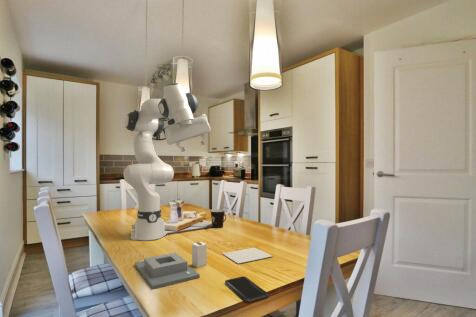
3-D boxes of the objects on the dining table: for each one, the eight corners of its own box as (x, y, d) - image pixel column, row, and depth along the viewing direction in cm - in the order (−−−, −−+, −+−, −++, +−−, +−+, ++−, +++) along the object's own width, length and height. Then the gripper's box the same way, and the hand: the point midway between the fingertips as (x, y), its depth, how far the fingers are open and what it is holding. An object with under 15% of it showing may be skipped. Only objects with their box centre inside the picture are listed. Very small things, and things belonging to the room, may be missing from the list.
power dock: (134, 265, 106) (134, 254, 106) (174, 257, 115) (174, 247, 115) (152, 289, 86) (152, 276, 86) (199, 277, 95) (199, 265, 95)
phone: (246, 300, 77) (223, 280, 90) (246, 304, 77) (223, 283, 90) (269, 294, 81) (244, 275, 94) (269, 298, 81) (244, 279, 94)
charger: (192, 264, 107) (192, 242, 107) (201, 262, 109) (201, 241, 109) (197, 267, 104) (197, 245, 104) (206, 265, 106) (206, 243, 106)
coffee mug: (209, 226, 172) (209, 209, 172) (222, 225, 175) (222, 209, 175) (213, 230, 161) (213, 213, 161) (227, 229, 164) (227, 212, 164)
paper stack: (287, 265, 107) (287, 263, 107) (230, 278, 94) (230, 276, 94) (254, 248, 127) (254, 247, 127) (204, 258, 115) (204, 256, 115)
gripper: (204, 113, 128) (213, 142, 129) (160, 126, 122) (171, 155, 123) (206, 110, 122) (216, 140, 123) (161, 123, 116) (172, 154, 117)
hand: (193, 148), depth 123 cm, fingers open, 8 cm apart
